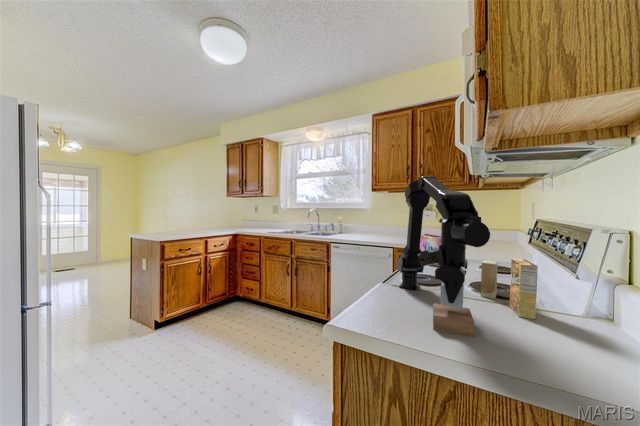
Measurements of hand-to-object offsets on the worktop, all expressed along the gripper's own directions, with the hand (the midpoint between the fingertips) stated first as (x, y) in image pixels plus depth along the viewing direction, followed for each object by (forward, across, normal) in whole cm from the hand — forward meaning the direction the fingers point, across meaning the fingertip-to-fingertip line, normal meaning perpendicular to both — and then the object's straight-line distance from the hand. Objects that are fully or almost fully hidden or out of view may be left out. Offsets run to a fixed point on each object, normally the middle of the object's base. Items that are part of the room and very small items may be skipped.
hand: (452, 299), depth 66 cm
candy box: (+7, -21, +17) cm, 28 cm away
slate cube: (+1, 0, 0) cm, 1 cm away
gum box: (+7, -98, -19) cm, 101 cm away
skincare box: (+7, -33, +9) cm, 35 cm away
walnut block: (+7, 0, 0) cm, 7 cm away
